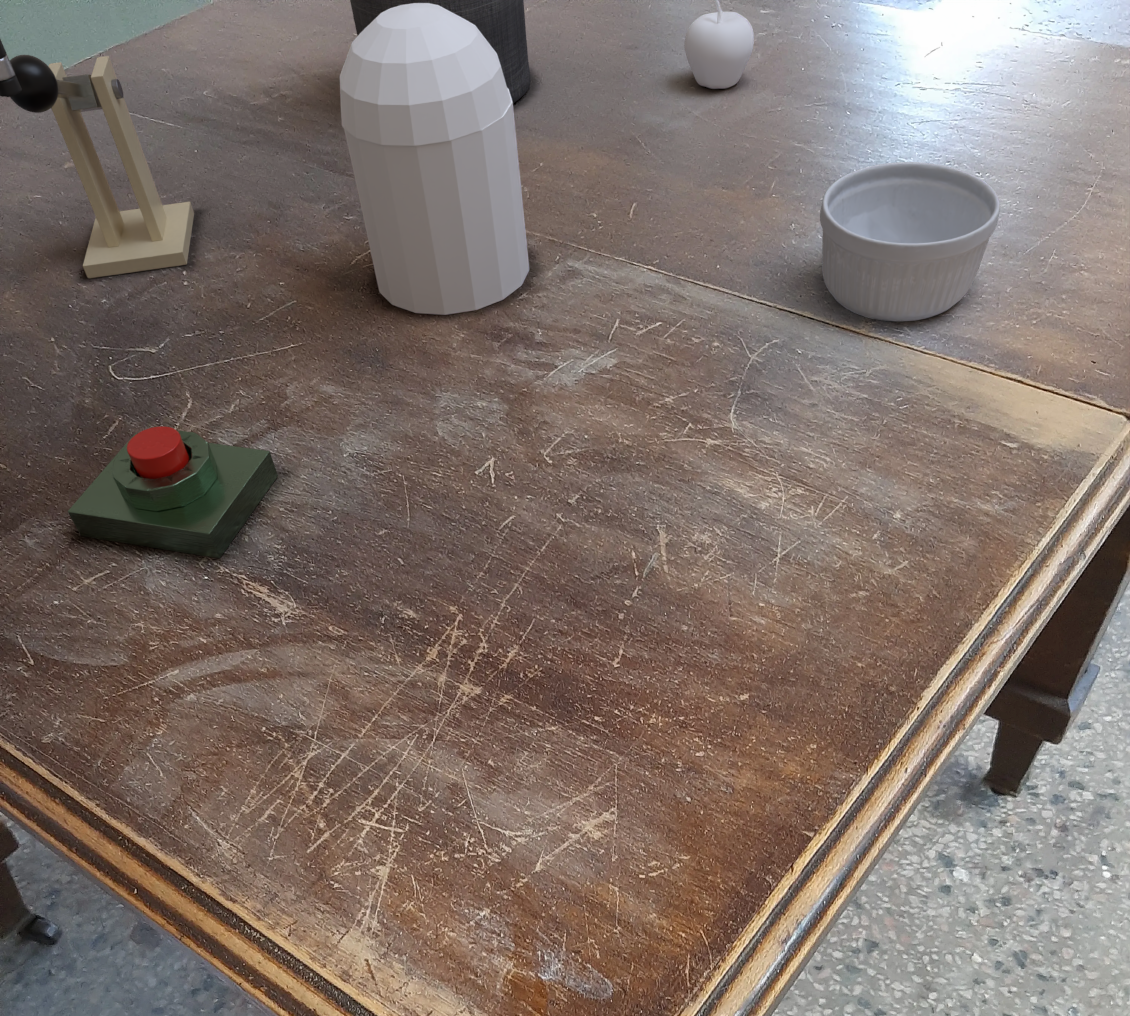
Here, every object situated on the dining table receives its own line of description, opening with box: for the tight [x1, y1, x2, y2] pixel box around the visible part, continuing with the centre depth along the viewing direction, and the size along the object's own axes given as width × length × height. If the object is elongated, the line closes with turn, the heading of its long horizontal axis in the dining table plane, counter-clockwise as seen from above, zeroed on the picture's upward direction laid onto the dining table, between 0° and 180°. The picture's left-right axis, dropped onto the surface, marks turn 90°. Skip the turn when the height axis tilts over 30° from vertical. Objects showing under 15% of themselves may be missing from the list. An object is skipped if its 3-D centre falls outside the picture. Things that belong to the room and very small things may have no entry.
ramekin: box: [819, 161, 1001, 322], centre depth 85 cm, size 13×13×7 cm
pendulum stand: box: [48, 55, 195, 279], centre depth 95 cm, size 10×9×15 cm
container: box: [339, 3, 530, 316], centre depth 86 cm, size 14×13×20 cm
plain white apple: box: [684, 0, 755, 90], centre depth 111 cm, size 7×7×8 cm
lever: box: [9, 54, 103, 114], centre depth 85 cm, size 17×4×4 cm, turn 8°
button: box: [127, 425, 189, 479], centre depth 73 cm, size 4×4×2 cm
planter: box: [349, 0, 532, 104], centre depth 112 cm, size 18×18×16 cm
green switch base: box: [67, 429, 279, 559], centre depth 75 cm, size 11×9×4 cm
